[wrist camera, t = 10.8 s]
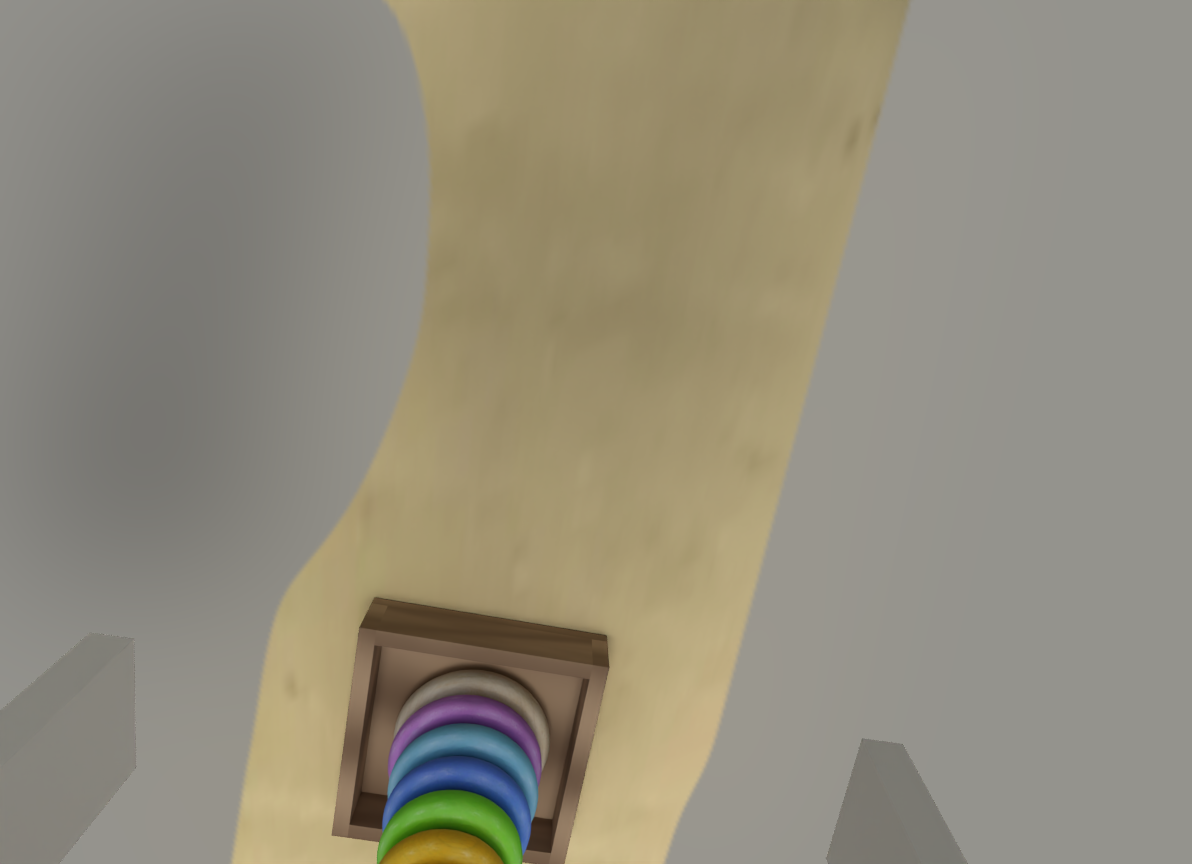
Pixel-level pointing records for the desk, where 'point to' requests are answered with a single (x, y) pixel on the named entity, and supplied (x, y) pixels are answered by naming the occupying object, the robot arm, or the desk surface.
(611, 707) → the desk surface
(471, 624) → the walnut open square tray
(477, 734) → the stacking toy
